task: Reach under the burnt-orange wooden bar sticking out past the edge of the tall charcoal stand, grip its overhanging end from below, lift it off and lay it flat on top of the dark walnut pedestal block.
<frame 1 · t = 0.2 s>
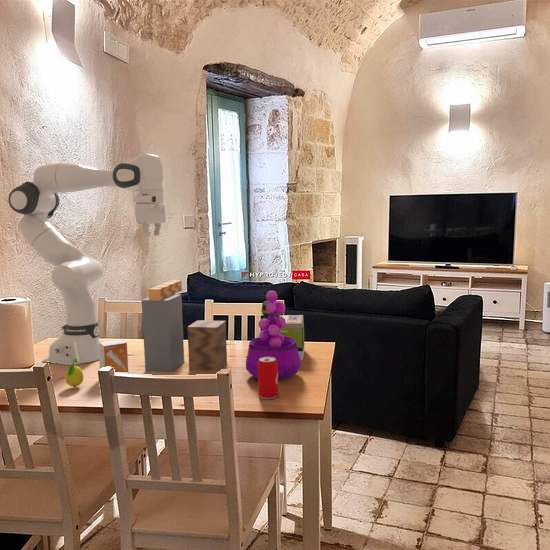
hand: (152, 236, 199), 48 cm above the table, tool pointing down, fingers open, 8 cm apart
small box: (114, 379, 185), on the table
orange bar: (166, 295, 199), point 26 cm above the table, touching charcoal stand
lemon: (75, 388, 177), on the table
walnut pedestal: (208, 366, 198), on the table
charcoal stand: (165, 366, 199), on the table
tea box: (291, 355, 210), on the table
decorative plant: (273, 377, 184), on the table
beverage can: (268, 397, 165), on the table
coffee jar: (273, 344, 228), on the table
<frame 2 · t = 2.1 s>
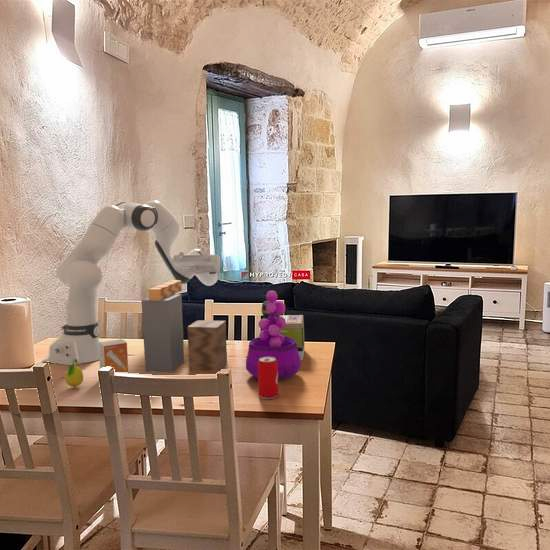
hand: (191, 253, 226), 39 cm above the table, tool pointing upward, fingers open, 8 cm apart
nothing on the table moved.
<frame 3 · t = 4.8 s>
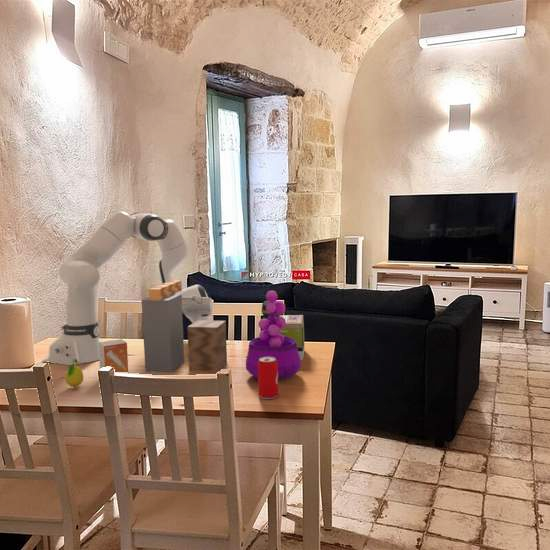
hand: (182, 296, 217), 22 cm above the table, tool pointing upward, fingers open, 8 cm apart
nothing on the table moved.
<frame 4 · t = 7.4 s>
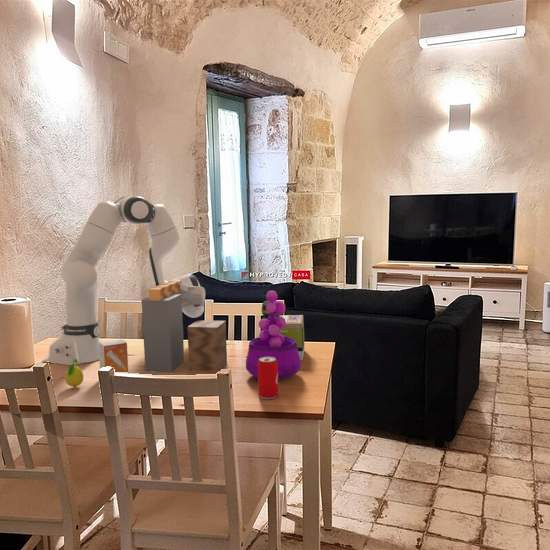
hand: (173, 285, 206), 28 cm above the table, tool pointing upward, fingers closed on orange bar, 4 cm apart
orange bar: (166, 295, 199), point 26 cm above the table, touching charcoal stand, gripper
everything else where it was.
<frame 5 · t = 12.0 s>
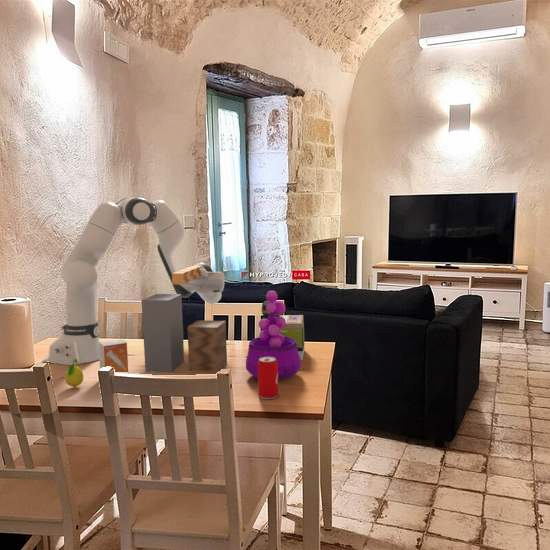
hand: (193, 271, 209), 33 cm above the table, tool pointing upward, fingers closed on orange bar, 4 cm apart
orange bar: (187, 280, 203), point 31 cm above the table, touching gripper
everything else where it was.
when the fingers open (20 cm above the table, at t = 16.7 s): orange bar drops 1 cm, resting on walnut pedestal.
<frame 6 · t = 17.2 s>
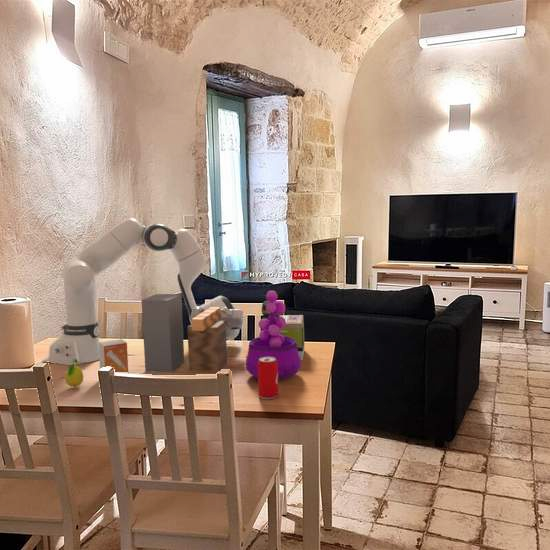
hand: (212, 309, 202), 20 cm above the table, tool pointing upward, fingers open, 8 cm apart
orange bar: (207, 323, 196), point 16 cm above the table, touching walnut pedestal
everything else where it was.
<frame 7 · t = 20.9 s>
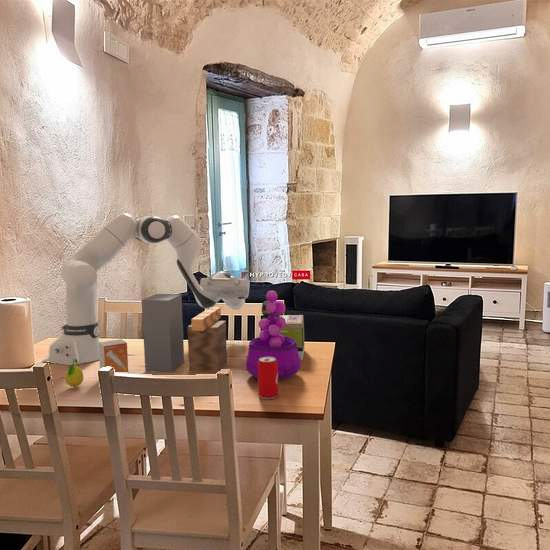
hand: (220, 277, 213), 30 cm above the table, tool pointing upward, fingers open, 8 cm apart
nothing on the table moved.
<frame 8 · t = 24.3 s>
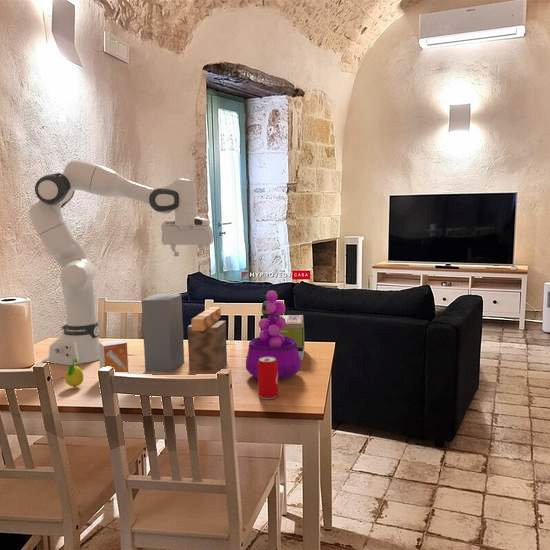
hand: (187, 256, 211), 39 cm above the table, tool pointing down, fingers open, 8 cm apart
nothing on the table moved.
at the end: orange bar inside the target area on the walnut pedestal (0.1 cm from its centre), point 16.0 cm above the walnut pedestal's base; orange bar tilted 0°; the gripper is holding nothing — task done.
